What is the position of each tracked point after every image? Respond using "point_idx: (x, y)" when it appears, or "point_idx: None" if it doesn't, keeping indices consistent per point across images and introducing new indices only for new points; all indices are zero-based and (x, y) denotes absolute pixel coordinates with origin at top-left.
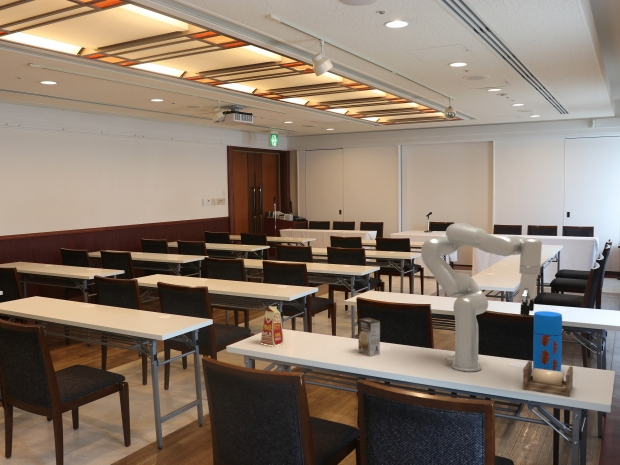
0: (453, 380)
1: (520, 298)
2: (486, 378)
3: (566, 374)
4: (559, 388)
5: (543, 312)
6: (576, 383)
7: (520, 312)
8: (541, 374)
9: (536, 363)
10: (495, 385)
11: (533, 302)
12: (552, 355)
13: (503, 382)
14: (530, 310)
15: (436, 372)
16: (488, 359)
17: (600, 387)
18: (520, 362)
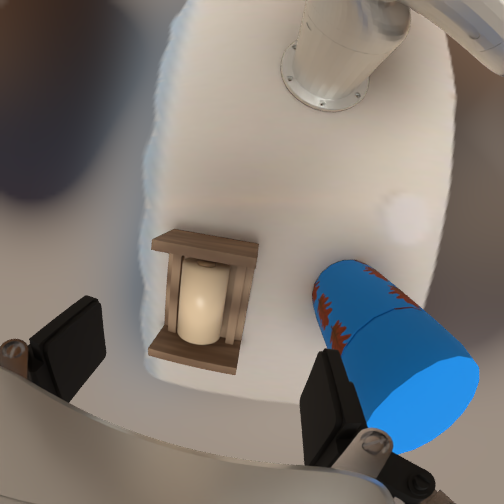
0: (190, 55)
1: (16, 382)
2: (237, 127)
3: (150, 349)
4: (169, 317)
5: (454, 392)
6: (274, 353)
7: (77, 301)
8: (181, 287)
9: (334, 276)
10: (181, 156)
11: (306, 463)
12: (323, 336)
13: (215, 175)
14: (305, 386)
15: (246, 13)
16: (426, 139)
17: (260, 390)
18: (424, 227)
